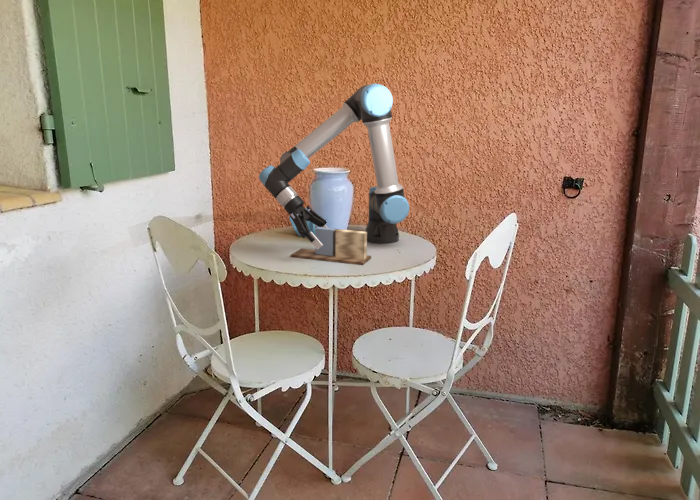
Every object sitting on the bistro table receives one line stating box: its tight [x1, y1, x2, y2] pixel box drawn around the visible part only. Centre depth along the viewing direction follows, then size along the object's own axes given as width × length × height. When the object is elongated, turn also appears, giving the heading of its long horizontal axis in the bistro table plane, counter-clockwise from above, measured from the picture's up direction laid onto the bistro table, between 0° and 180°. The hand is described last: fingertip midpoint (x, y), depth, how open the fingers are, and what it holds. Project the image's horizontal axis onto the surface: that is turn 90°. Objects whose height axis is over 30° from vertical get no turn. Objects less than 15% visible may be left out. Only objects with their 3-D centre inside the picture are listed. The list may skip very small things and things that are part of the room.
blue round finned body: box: [288, 216, 316, 238], centre depth 243 cm, size 15×15×11 cm
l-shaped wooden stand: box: [290, 228, 372, 266], centre depth 206 cm, size 29×10×11 cm, turn 70°
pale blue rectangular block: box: [315, 227, 337, 256], centre depth 206 cm, size 7×3×10 cm, turn 70°
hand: (327, 243), depth 206 cm, fingers open, 13 cm apart
